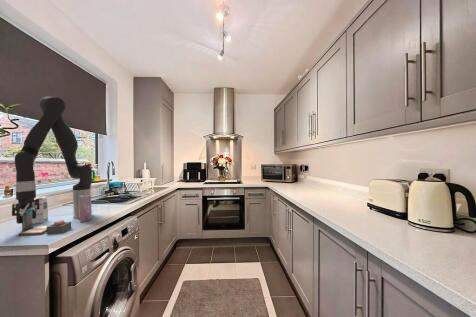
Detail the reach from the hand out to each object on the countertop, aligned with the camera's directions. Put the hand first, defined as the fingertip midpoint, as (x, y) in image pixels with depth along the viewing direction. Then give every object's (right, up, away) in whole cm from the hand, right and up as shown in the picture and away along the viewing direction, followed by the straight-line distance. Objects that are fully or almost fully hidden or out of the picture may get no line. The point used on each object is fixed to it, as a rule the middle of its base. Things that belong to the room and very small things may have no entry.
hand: (26, 221), depth 114 cm
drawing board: (+9, -4, -3) cm, 10 cm away
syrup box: (-7, -5, +15) cm, 17 cm away
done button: (+20, -1, -3) cm, 20 cm away
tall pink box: (+20, -4, +15) cm, 26 cm away
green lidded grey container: (0, -5, 0) cm, 5 cm away
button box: (+20, -4, -3) cm, 20 cm away
